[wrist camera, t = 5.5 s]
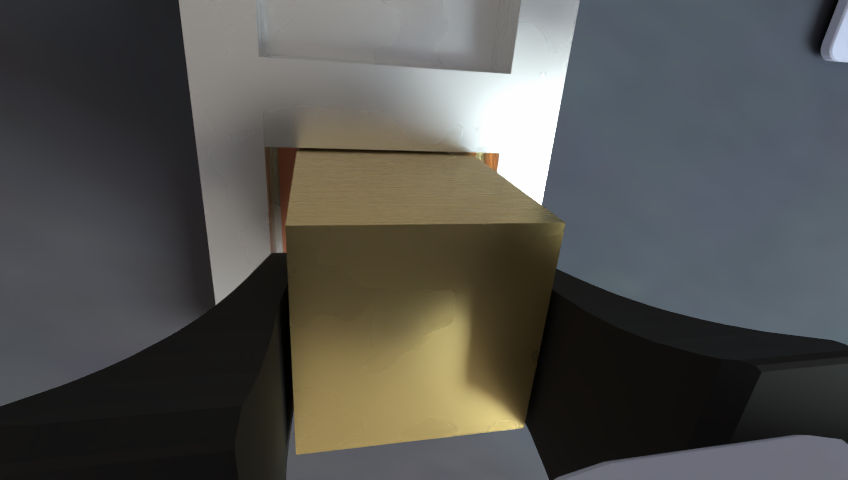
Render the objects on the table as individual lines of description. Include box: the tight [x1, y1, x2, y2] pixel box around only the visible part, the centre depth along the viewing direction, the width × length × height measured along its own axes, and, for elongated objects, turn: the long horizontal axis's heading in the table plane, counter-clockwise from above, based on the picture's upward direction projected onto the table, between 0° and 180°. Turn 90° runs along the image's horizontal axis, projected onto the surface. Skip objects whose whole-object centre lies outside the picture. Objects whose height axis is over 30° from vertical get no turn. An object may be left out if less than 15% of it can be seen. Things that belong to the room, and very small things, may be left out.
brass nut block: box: [285, 148, 565, 455], centre depth 11 cm, size 4×4×6 cm
